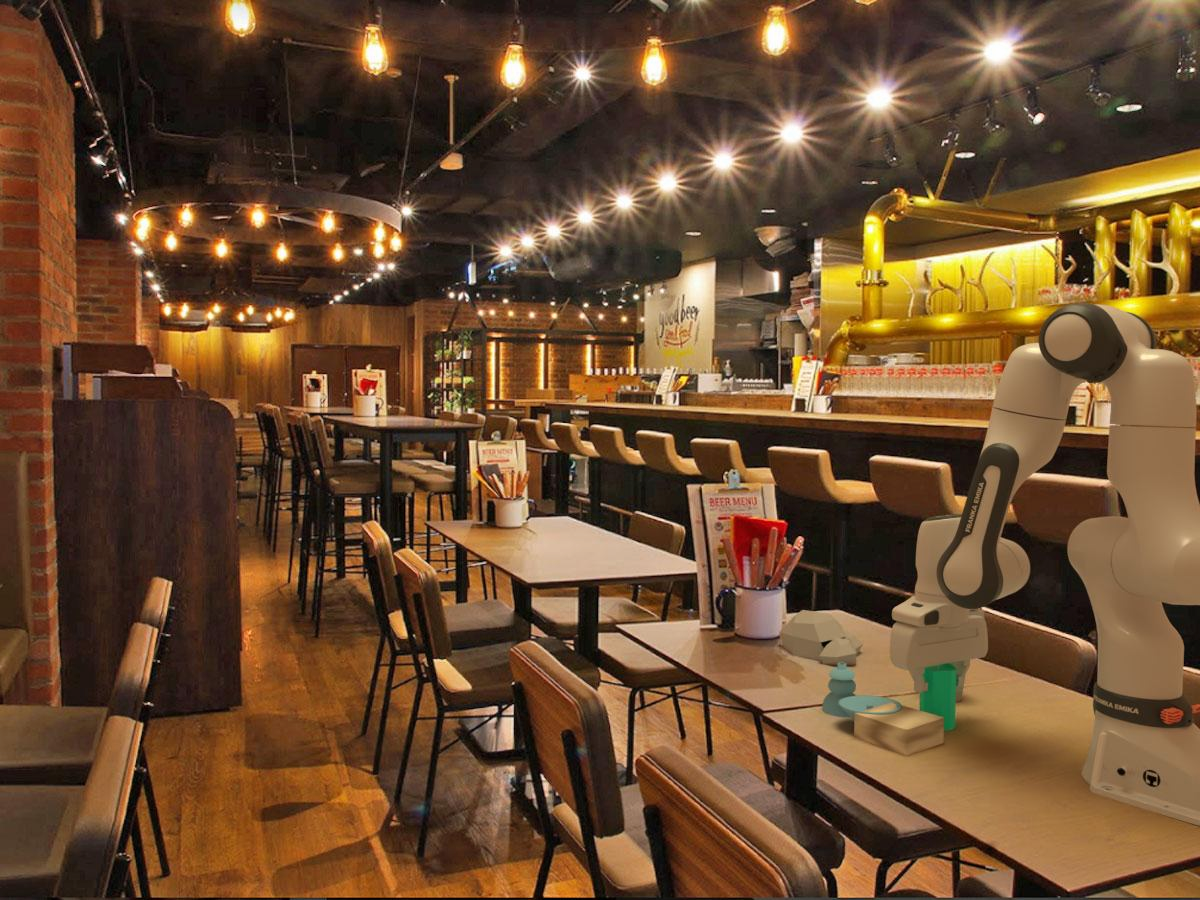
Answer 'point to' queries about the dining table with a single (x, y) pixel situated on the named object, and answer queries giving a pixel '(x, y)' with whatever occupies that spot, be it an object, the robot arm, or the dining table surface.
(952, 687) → the candle
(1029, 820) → the dining table surface
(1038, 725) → the dining table surface
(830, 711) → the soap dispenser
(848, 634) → the rock
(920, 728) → the beech box
